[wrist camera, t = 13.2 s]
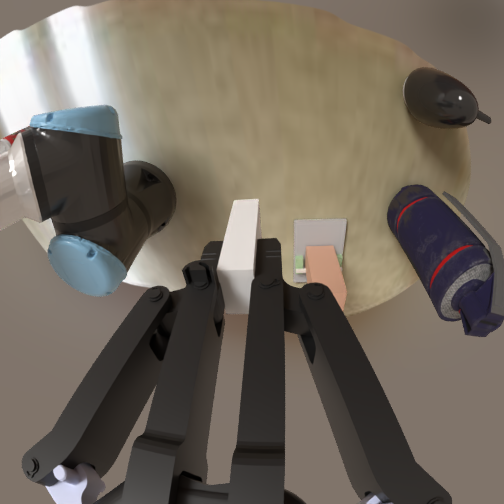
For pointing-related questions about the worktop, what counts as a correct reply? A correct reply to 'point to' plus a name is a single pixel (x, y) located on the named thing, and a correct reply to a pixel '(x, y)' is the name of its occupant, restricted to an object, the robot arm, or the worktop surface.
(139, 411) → the robot arm
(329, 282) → the tall salmon pillar
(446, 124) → the pump dispenser
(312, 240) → the gauge base
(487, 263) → the navy red-striped canister
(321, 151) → the worktop surface
